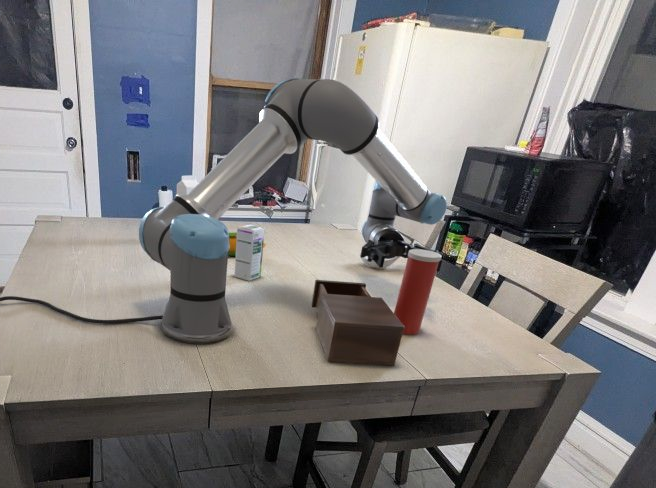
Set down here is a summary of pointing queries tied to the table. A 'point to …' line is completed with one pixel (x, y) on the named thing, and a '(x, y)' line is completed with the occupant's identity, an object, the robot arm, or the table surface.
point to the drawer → (337, 290)
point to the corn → (234, 244)
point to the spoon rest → (372, 264)
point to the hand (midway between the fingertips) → (411, 263)
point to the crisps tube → (416, 288)
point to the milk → (186, 184)
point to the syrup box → (249, 252)
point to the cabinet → (358, 330)
